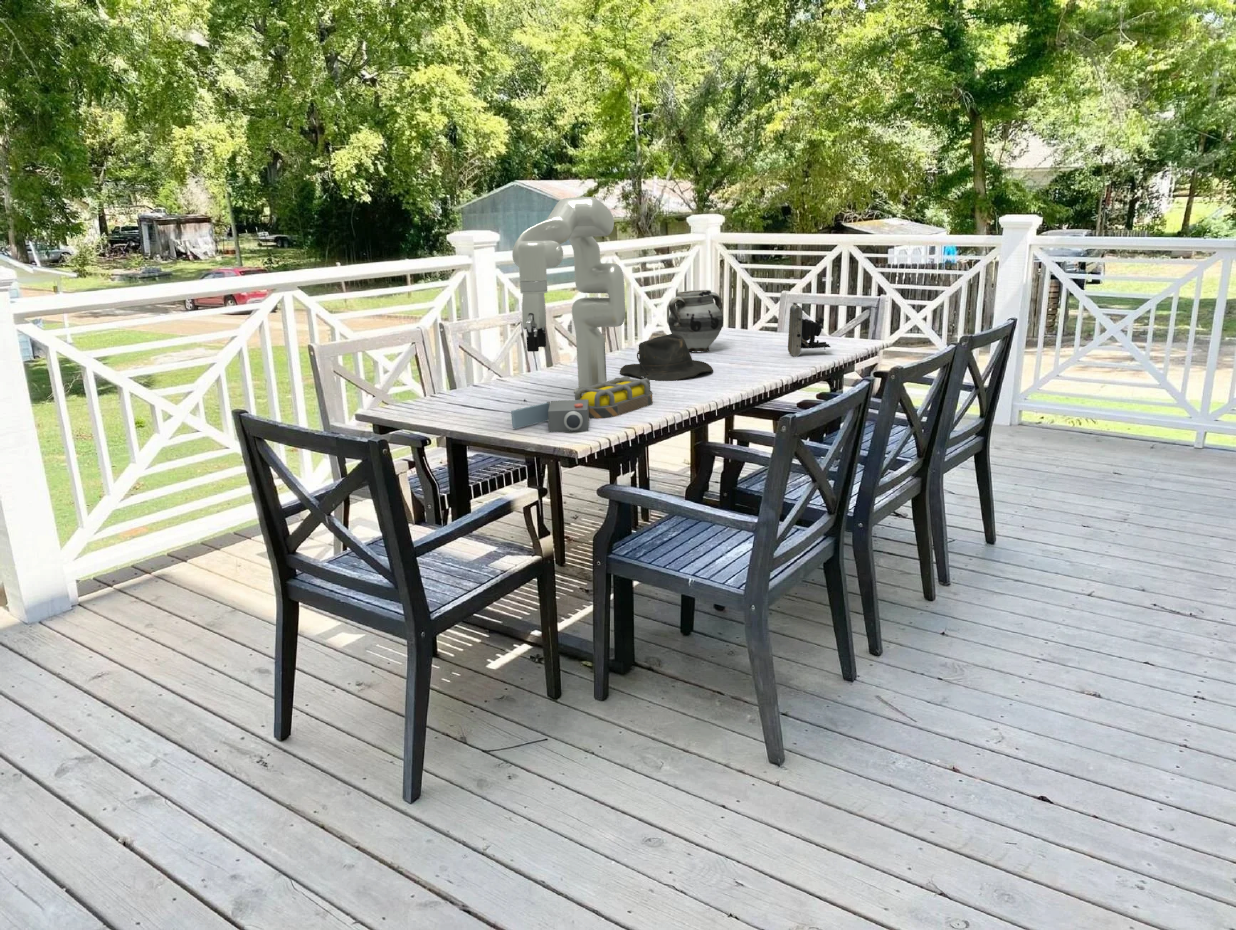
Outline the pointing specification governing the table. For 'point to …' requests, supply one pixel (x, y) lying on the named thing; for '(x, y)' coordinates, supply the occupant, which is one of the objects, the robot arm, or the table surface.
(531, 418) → the side door
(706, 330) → the ceramic pot
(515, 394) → the table surface
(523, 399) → the table surface
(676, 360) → the hat
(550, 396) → the table surface
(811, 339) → the vintage camera
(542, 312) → the robot arm
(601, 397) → the cage light
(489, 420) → the table surface
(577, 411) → the camera housing
